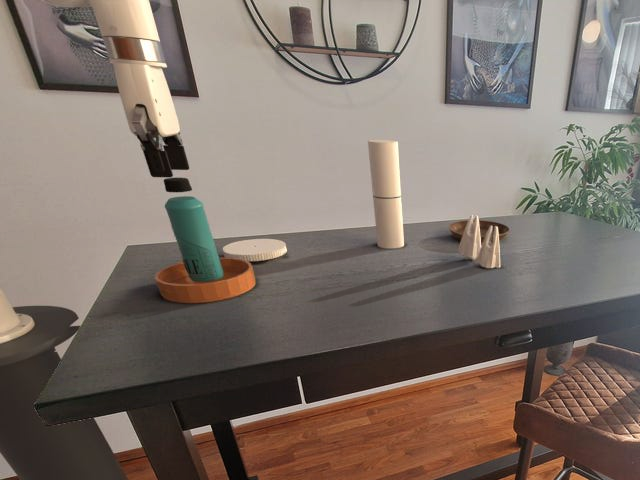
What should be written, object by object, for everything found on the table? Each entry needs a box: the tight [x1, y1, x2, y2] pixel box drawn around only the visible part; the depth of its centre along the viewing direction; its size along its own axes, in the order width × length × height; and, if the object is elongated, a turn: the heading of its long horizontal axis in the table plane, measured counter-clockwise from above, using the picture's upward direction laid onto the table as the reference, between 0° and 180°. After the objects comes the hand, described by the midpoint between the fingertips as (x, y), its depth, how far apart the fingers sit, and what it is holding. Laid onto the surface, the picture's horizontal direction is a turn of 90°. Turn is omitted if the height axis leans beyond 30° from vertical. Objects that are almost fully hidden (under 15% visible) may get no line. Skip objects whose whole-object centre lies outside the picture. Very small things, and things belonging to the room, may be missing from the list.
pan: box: [154, 257, 257, 304], centre depth 90 cm, size 17×17×4 cm
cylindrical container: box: [367, 139, 405, 250], centre depth 114 cm, size 7×7×25 cm
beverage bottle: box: [163, 177, 224, 282], centre depth 85 cm, size 6×7×20 cm
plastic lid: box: [221, 238, 288, 262], centre depth 108 cm, size 14×14×2 cm
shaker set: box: [457, 214, 501, 269], centre depth 107 cm, size 12×4×11 cm, turn 44°
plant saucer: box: [448, 219, 511, 245], centre depth 129 cm, size 18×18×3 cm
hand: (171, 173), depth 79 cm, fingers open, 9 cm apart
